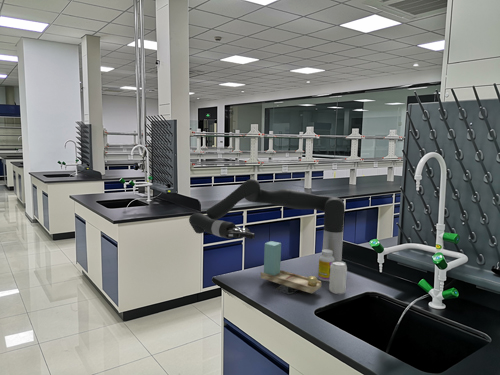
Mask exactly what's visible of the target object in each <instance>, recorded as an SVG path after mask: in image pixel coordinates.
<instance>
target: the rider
mask: <svg viewBox="0 0 500 375" xmlns="http://www.w3.org/2000/svg"><path fill="white" fill-rule="evenodd" d="M263 252H264V256H263V257H264V258H263V263H264V264H263V273H266V274H270V275H273V276H275V275H277V274H279V273H280V270H281V262H282V261H281V259H282V257H281V254H282V243H281V242H277V241H272V240H270V241H267V242H265V243H264V251H263Z"/></svg>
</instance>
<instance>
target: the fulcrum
mask: <svg viewBox="0 0 500 375" xmlns="http://www.w3.org/2000/svg"><path fill="white" fill-rule="evenodd" d="M275 290H276V291H277V290H278V291H277V292H280V291H281V293H284V294H287V295H290V296H291V295H293V293H296V292H297V291H299V289H295V288H292V287H289V286H285V285H282V284H280V285H279V286H277V287H276V288H275Z"/></svg>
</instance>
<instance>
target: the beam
mask: <svg viewBox="0 0 500 375" xmlns="http://www.w3.org/2000/svg"><path fill="white" fill-rule="evenodd" d="M308 277H309V276H303V275H301V274H300V275H299V274H298V273H297V274H296V273H292V272H289V271H285V270H282V269H280V273H279V274H277V275H275V276H273V275H270V274H266V273H264V271H263V272H260V279H263V280H265V281H270V282H273V283H275V284H279V285H281V284H282V285H285V286H289V287H292V288H295V289H298V291H302V292H306V293H309V294H313V293H315V292H316V291H318V290H319V289H321V288H322V280H320V279H317V286H316V287H311V286H308Z"/></svg>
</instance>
